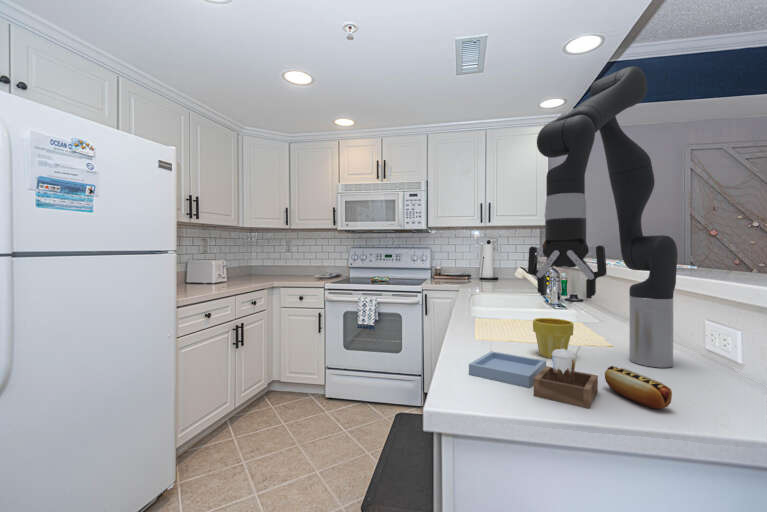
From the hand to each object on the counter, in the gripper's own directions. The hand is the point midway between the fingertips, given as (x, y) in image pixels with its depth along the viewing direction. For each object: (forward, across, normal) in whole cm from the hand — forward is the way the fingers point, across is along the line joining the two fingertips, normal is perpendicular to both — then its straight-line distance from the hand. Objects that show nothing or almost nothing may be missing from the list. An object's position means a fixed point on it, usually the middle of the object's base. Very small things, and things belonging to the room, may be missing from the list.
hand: (565, 296), depth 74 cm
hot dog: (+20, -11, -5) cm, 24 cm away
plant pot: (+20, +9, -28) cm, 36 cm away
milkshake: (+20, 0, 0) cm, 20 cm away
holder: (+20, 0, 0) cm, 20 cm away
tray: (+20, +14, -6) cm, 25 cm away
